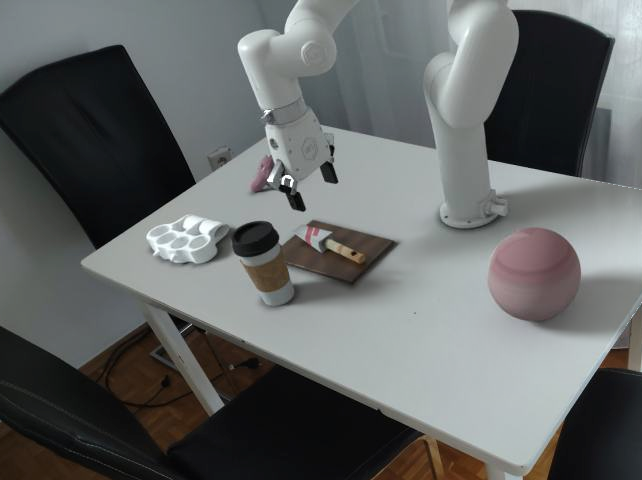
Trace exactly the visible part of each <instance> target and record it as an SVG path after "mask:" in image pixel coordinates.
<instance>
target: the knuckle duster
mask: <svg viewBox="0 0 642 480" xmlns="http://www.w3.org/2000/svg"><path fill="white" fill-rule="evenodd" d="M229 230H230V225H229V224H228V223H227V222H222V221H218V220H214V219H211V218H206V217H202V216H198V215H196V214H185V215H183V216H182V217H181V218H179V219H177V220H176V221H175V222H171V223H163V224H160V225H157V226H155V227H153V228H152V229H151V230H149V231H148V232H147V234H146V240H147V242H148V243H149V245H150V247H151V249H152V251H154V253H153V254H152V256H153V257H157V256H159V257H161V258H162V259H163V260H169V261H170V262H173V263H174V264H175V263H176V264H185V263H194V264H196V265H199V264H200V265H201V264H204V263H206V262H209V261H210V260H212V259H213V258H214V257H215V256H216V255H217V253H218V248H217V246H216V244H217V243H218V242H220V241H221V240H223V238H224V237H225V236H226V235H227V234H228V233H229Z"/></svg>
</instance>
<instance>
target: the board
mask: <svg viewBox="0 0 642 480" xmlns="http://www.w3.org/2000/svg"><path fill="white" fill-rule="evenodd" d="M305 226H309V227H313V228H318V229H322V230H326V231H330V232H332V238H333V240H334V241H335V242H337V243H339V244H342V245H344V246H346V247H348V248H350V249H352V250H354V251H356V252H359V253H361V254H363V255H365V258H366V259H365V262H364V263H361V264H360V263H358V262H356V261H354V260H351V259H349V258H347V257H345V256H343V255H341V254H339V253H337V252H335V251H333V250H331V249H329V248H328V249H327V250H326V251H324V252H323V253H321V252H320V251H318V250H317V249H315V248H314V247H313V246H311V245H310V244H308V243H307V242H306V241H304V240H303V239H301V238H300V237H299V236H297V235H296V234H294V235H293V236H292V237H291V238H289V239H288V240H287V241H286V242H285V243H284V244H282V245H281V247H282V250H283V254H284V258H285V261H286V265H287V266H290V267H293V268H296V269H300V270H303V271H306V272H309V273H313V274H315V275H319V276H322V277H326V278H329V279H333V280H335V281H338V282H341V283H345V284H348V285H351V286H352V285H354V284H355V283H356V282H357V281H358V280H359V279H360V278H361V277H362V276H363V275H364V274H365V273H366V272H367V271H368V270H369V269H370V268H371V267H372V266H373V265H374V264H375V263H377V261H378V260H380V259H381V257H382V256H383V255H384V254H385V253H386V252H387V251H389V249H390V248H392V246H394V245H395V241H394V240H393V239H389V238H385V237H382V236H378V235H374V234H370V233H366V232H363V231H359V230H354V229H352V228H351V229H350V228H346V227H342V226H339V225H335V224H330V223H328V222H324V221H319V220H315V219H312V220H310V222H308V223H307V224H305Z"/></svg>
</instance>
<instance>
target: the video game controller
mask: <svg viewBox="0 0 642 480" xmlns="http://www.w3.org/2000/svg"><path fill="white" fill-rule="evenodd" d="M258 164H259V165H258V167H257V174H256V177H255V178H254V180H253V181H252V182H251V184H250V187H249V188H250V190H251V191H252V192H254V193H256V192H260V191H261V190H263V189H264V188H265V187H266V186H269V185H270V184H268V182H267V180H268V178H269V176H270V174H271V172H272V170H273V168H274V166H275V163H274V161H273V158H272V155H271V154H269V155H268V154H265V156H264V157H263V158H262V159H261V160H259V163H258Z"/></svg>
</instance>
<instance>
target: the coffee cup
mask: <svg viewBox="0 0 642 480" xmlns="http://www.w3.org/2000/svg"><path fill="white" fill-rule="evenodd" d="M230 241H231V249H232V251H233V253H234V255H236V256H237V257H239V262H240V263H241V265H242V267H243V268H244V270H245V272H246V273H247V275H248V276H249V278H250V280H251V282H252V283H253V286H255V288H256V290H257V291H258V293H259V295H260V296H261V298H262V300H263V302H264V304H266V305H268V306H271V307H277V306H282V305H285V304H286V303H289V302H290V301H291V300H292V299H293V297H294V295H295V289H294V286H293V282H292V280H291V279H292V278H291V275H290V271H289V269H288V265H286V261H285V258H284V254H283V250H282V247H281V246H282V245H281V244H280V234H279V233H278V231H277V229H275V228H274V226H273V224H272V223H271V222H270V221H267V220H254V221H250V222H246V223H244V224H241V225H240V226H239V227H237V228H236V229H234V231H232V233H231V235H230Z"/></svg>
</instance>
